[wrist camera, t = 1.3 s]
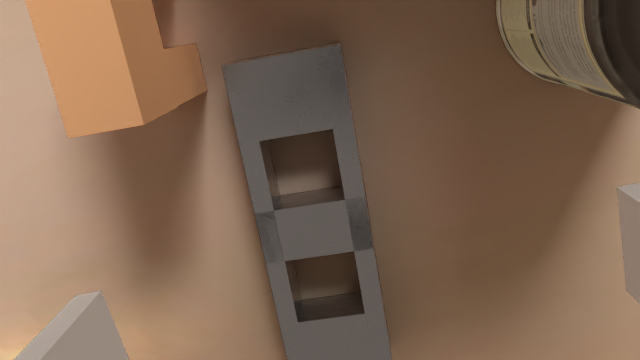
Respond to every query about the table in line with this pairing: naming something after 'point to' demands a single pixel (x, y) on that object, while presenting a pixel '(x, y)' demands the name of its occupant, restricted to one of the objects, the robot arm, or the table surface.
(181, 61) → the tan wooden block
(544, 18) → the coffee can
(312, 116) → the rail
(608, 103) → the table surface
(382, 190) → the table surface
